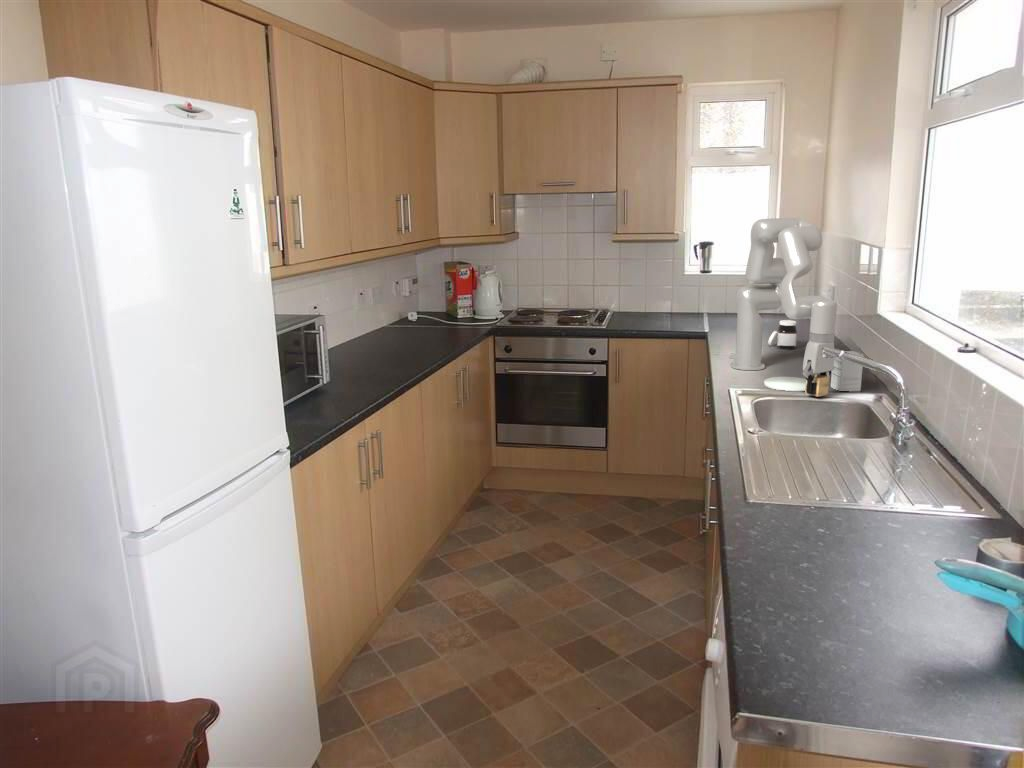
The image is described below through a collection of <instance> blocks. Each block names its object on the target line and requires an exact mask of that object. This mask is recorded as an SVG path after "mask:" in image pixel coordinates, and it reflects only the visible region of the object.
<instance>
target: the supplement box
mask: <svg viewBox="0 0 1024 768" xmlns="http://www.w3.org/2000/svg"><path fill="white" fill-rule="evenodd" d="M844 352H847V353H849V354H852V355H855V356H858V357H862V358H863V359H864V355H863V354H861V352H857V351H854V350H849V351H848V350H846V351H844ZM833 365H834V370H833V371H832V372H831V374H830V376H831V377H830V378H831V379H830V388H832V389H834V390H835V389H836V391H837V390H839V391H849V392H861V389H862V379H863V376H862V375H863V366H860V365H857V364H853V363H851V362H848V361H845V360H841V359H837V358H834V364H833ZM839 391H838V392H839Z"/></svg>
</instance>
